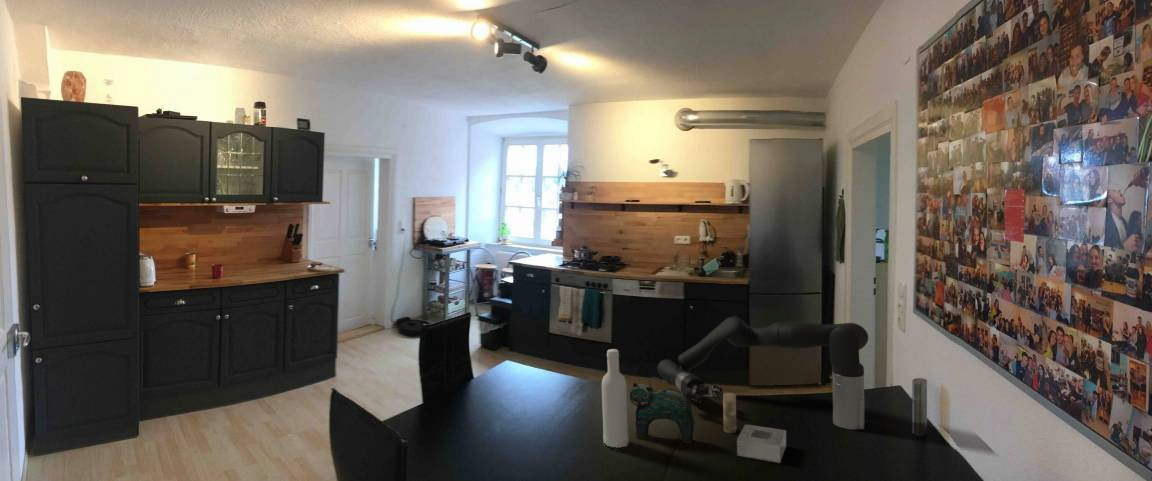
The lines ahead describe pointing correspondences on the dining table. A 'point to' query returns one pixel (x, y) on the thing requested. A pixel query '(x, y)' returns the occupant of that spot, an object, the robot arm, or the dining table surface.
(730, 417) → the wooden peg
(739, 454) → the socket block
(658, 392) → the ceramic cat
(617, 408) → the bottle
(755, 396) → the dining table surface
